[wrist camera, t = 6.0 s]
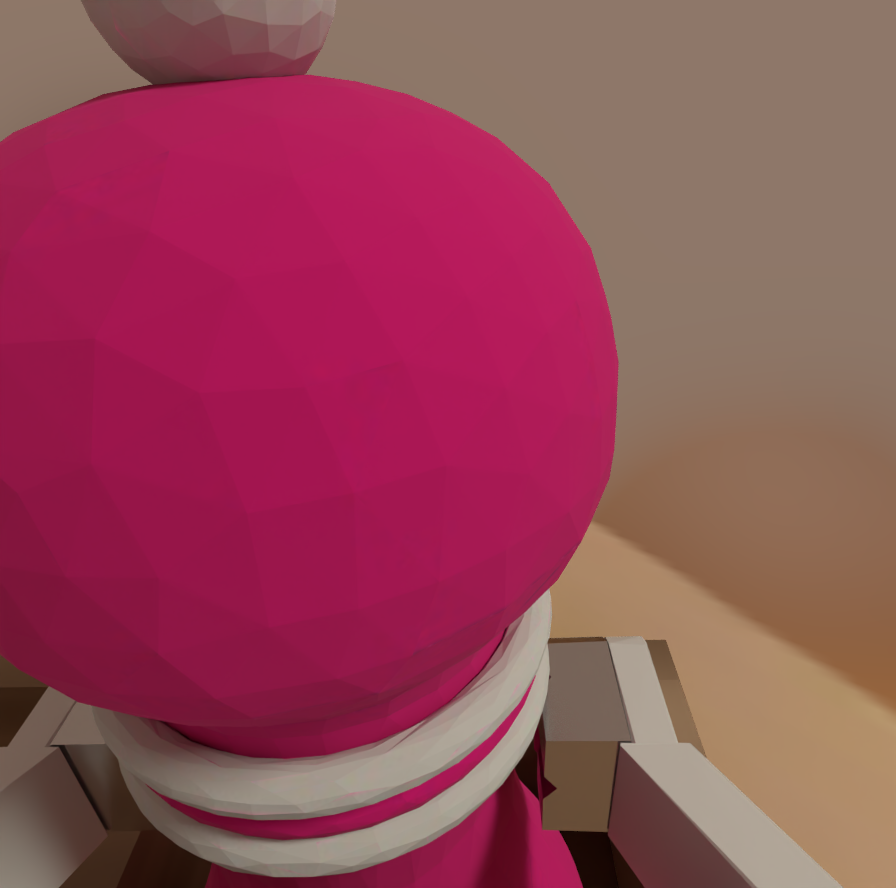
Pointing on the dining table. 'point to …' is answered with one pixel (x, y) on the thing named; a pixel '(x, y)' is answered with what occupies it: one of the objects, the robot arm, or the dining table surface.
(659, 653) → the walnut rack
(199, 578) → the pepper mill
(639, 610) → the dining table surface
